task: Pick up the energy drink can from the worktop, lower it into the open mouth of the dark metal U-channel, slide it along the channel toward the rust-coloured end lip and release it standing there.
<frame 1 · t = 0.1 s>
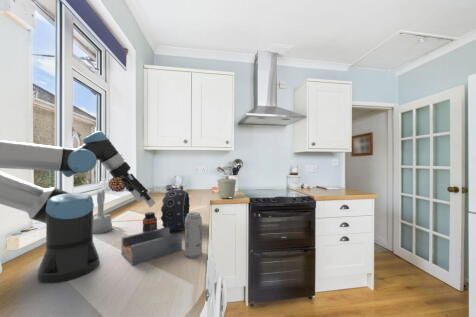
hand: (147, 203, 97), 15 cm above the worktop, tool tilted 35°, fingers open, 13 cm apart
engine component: (100, 230, 107), on the worktop
black thick disc: (176, 229, 107), on the worktop
supplement bottle: (150, 238, 95), on the worktop
energy drink can: (193, 255, 78), on the worktop
channel: (152, 251, 81), on the worktop
canister: (226, 198, 199), on the worktop
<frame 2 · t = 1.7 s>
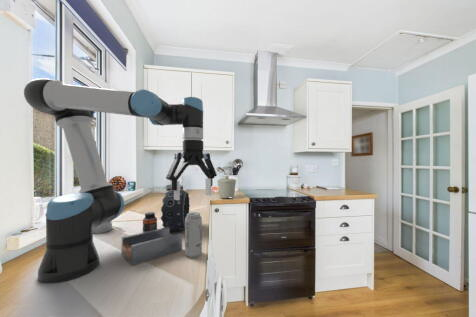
hand: (193, 197, 79), 21 cm above the worktop, tool pointing down, fingers open, 13 cm apart
nothing on the worktop moved.
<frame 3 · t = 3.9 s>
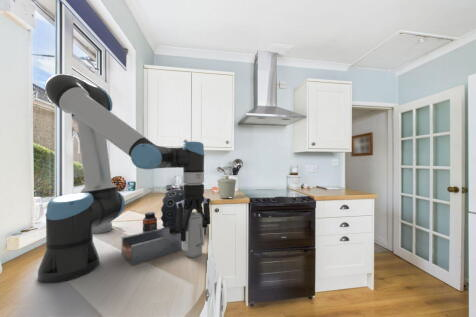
hand: (193, 246, 78), 3 cm above the worktop, tool pointing down, fingers closed on energy drink can, 6 cm apart
energy drink can: (193, 255, 78), on the worktop, touching gripper
everything else where it was.
when the fingers open (5 cm above the worktop, at t = 9.0 s): energy drink can drops 1 cm, resting on channel.
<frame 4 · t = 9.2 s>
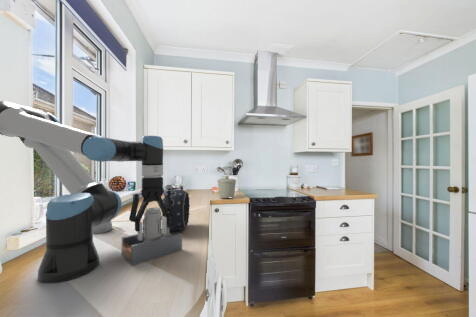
hand: (152, 236, 81), 6 cm above the worktop, tool pointing down, fingers open, 8 cm apart
energy drink can: (152, 249, 80), point 1 cm above the worktop, touching channel
everything else where it was.
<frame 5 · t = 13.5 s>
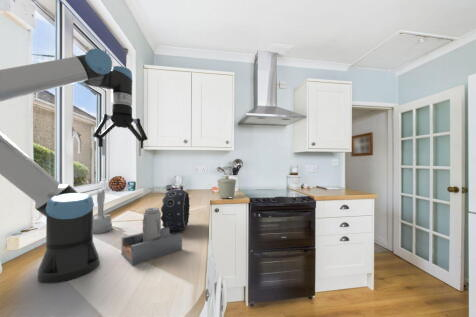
hand: (121, 155, 89), 37 cm above the worktop, tool pointing down, fingers open, 13 cm apart
nothing on the worktop moved.
at the end: energy drink can inside the target area on the channel (0.2 cm from its centre), point 1.0 cm above the channel's base; energy drink can tilted 0°; the gripper is holding nothing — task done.
